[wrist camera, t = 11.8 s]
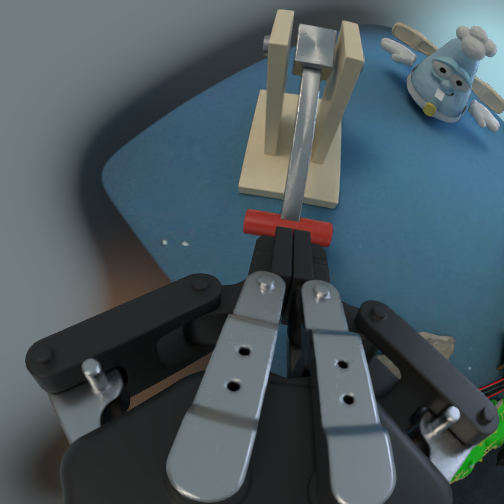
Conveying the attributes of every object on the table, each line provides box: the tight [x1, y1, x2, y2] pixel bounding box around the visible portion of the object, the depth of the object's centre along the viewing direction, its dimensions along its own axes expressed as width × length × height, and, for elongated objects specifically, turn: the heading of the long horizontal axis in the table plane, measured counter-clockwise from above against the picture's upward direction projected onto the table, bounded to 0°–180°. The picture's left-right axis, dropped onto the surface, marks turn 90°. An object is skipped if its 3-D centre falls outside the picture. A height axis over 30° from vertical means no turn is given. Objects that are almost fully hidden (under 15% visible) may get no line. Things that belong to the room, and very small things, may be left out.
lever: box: [243, 24, 336, 247], centre depth 15 cm, size 13×5×2 cm, turn 170°
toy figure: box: [381, 22, 504, 133], centre depth 19 cm, size 17×10×15 cm, turn 53°
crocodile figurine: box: [449, 398, 504, 484], centre depth 16 cm, size 7×18×4 cm, turn 109°
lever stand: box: [238, 10, 365, 209], centre depth 18 cm, size 11×8×13 cm
